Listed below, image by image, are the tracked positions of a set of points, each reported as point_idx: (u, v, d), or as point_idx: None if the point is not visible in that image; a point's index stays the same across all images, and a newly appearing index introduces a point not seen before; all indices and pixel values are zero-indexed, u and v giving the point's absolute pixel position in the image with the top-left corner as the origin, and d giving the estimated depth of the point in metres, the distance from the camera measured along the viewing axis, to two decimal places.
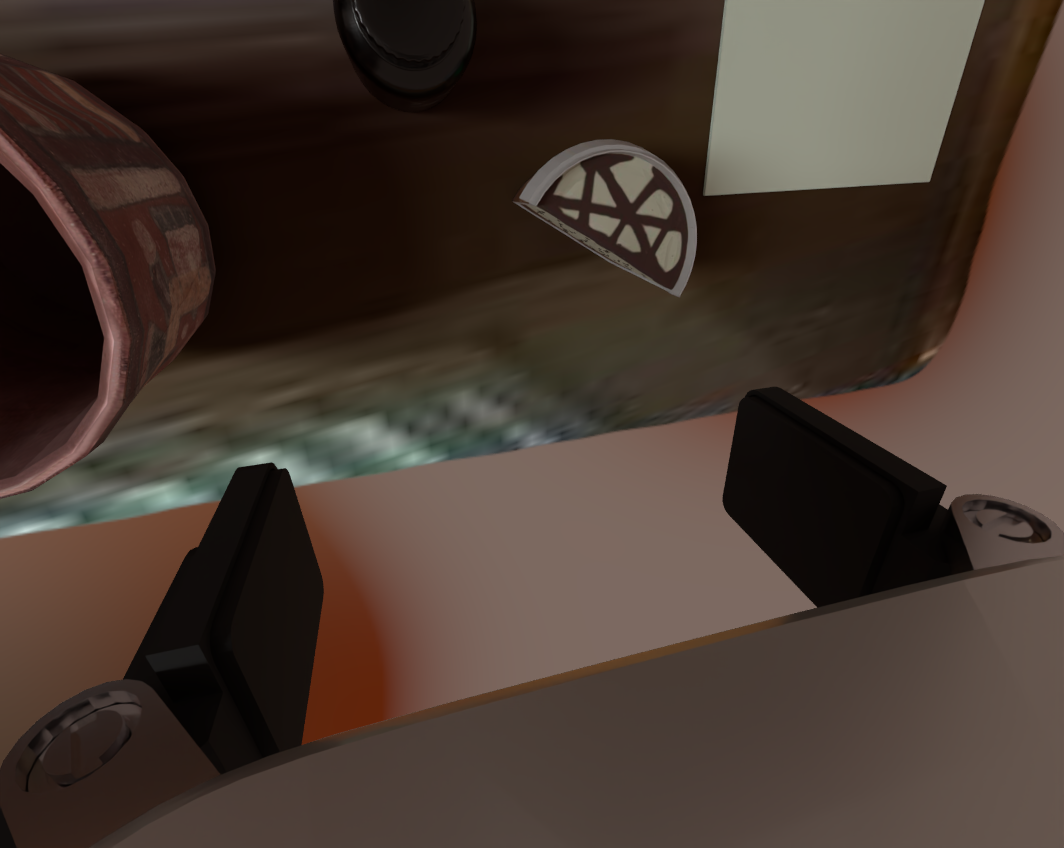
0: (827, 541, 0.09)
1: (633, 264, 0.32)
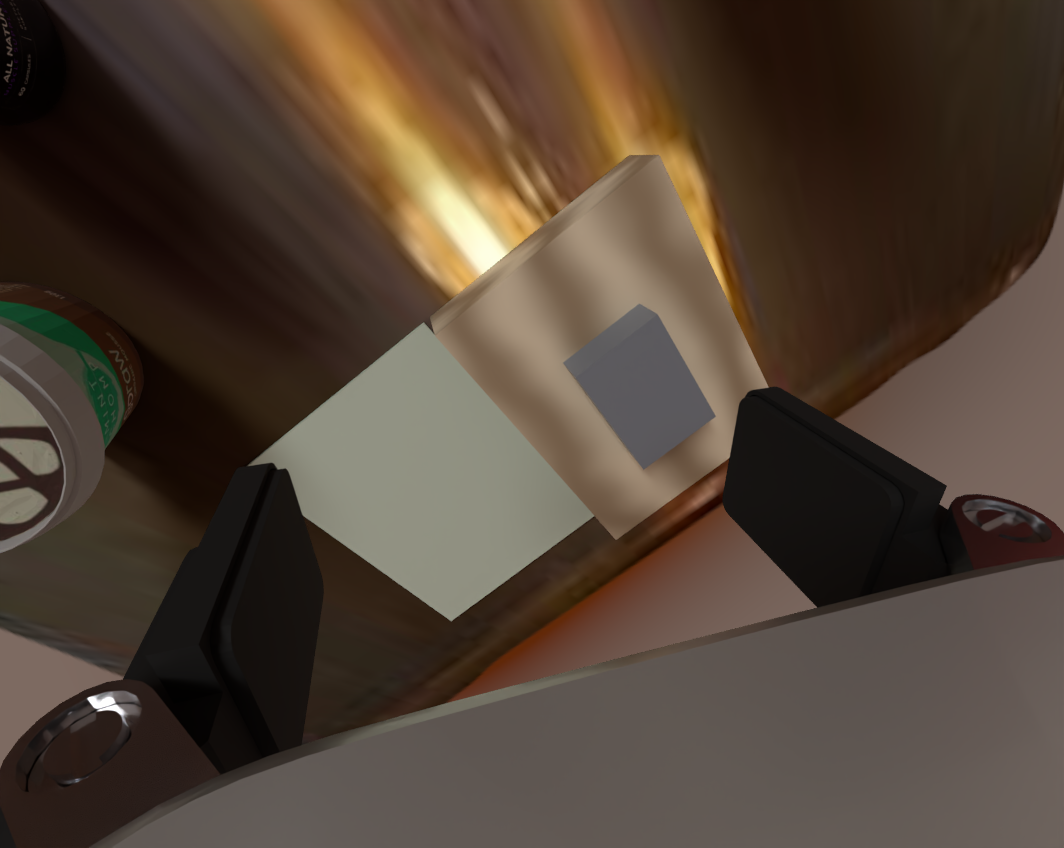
0: (827, 542, 0.09)
1: None
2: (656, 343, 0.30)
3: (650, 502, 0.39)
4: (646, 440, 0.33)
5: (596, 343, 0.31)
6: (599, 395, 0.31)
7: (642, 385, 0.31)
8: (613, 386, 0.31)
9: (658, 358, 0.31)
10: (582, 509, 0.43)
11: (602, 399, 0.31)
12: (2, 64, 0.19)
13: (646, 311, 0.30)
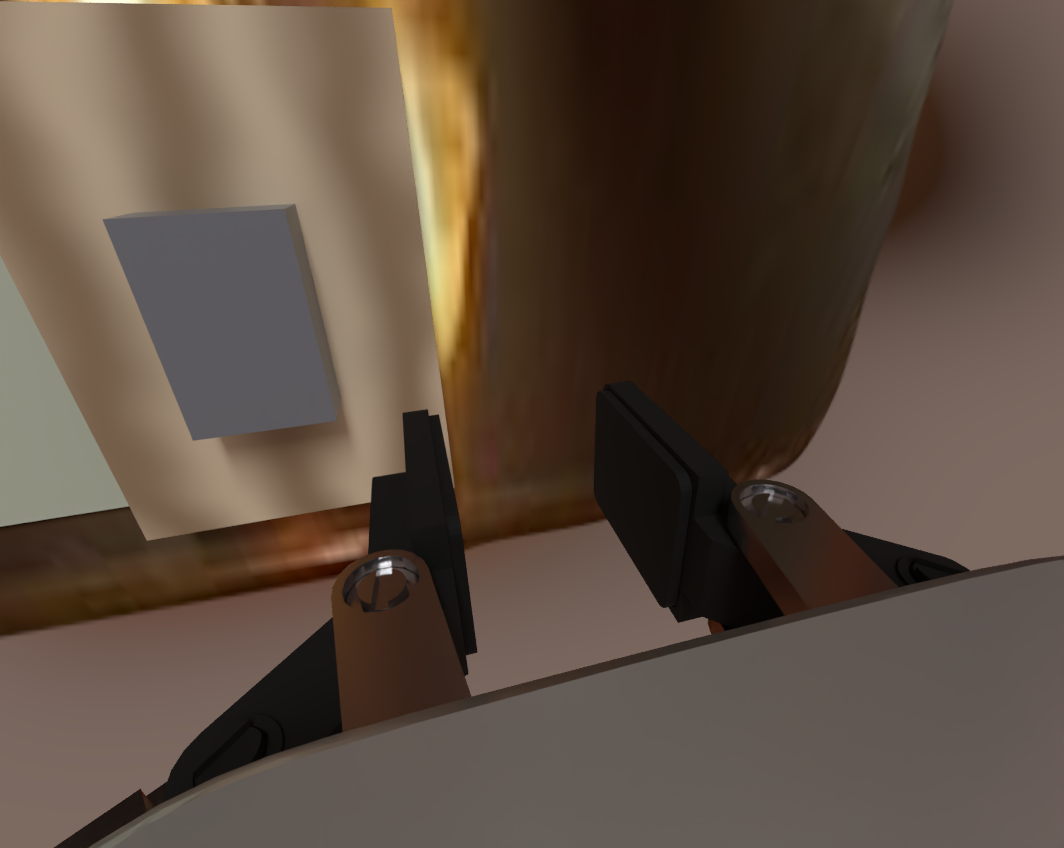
0: (650, 526, 0.09)
1: None
2: (270, 253, 0.19)
3: (224, 509, 0.27)
4: (211, 396, 0.21)
5: (192, 210, 0.20)
6: (142, 277, 0.19)
7: (226, 306, 0.20)
8: (172, 277, 0.19)
9: (266, 279, 0.20)
10: None
11: (146, 287, 0.19)
12: None
13: (282, 206, 0.20)
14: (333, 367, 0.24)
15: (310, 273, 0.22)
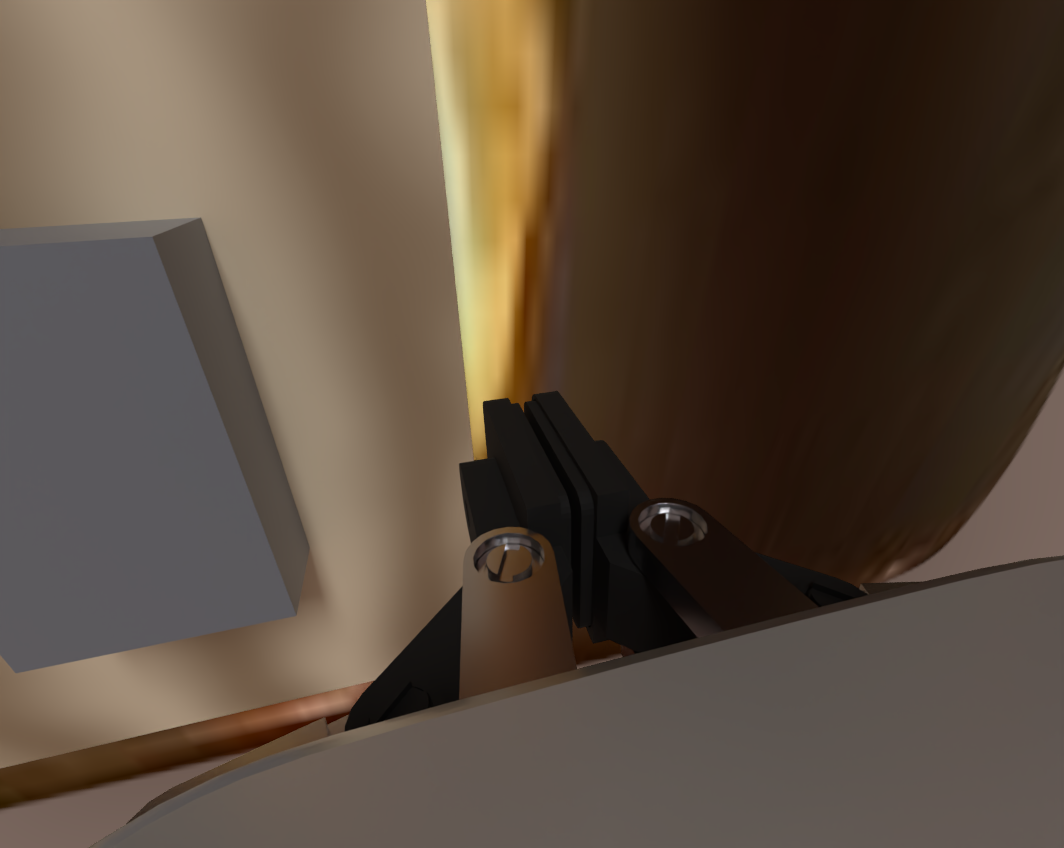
0: None
1: None
2: (130, 334, 0.09)
3: (118, 717, 0.16)
4: (39, 601, 0.11)
5: None
6: None
7: (44, 443, 0.09)
8: None
9: (127, 385, 0.09)
10: None
11: None
12: None
13: (161, 227, 0.09)
14: (293, 503, 0.14)
15: (240, 350, 0.11)
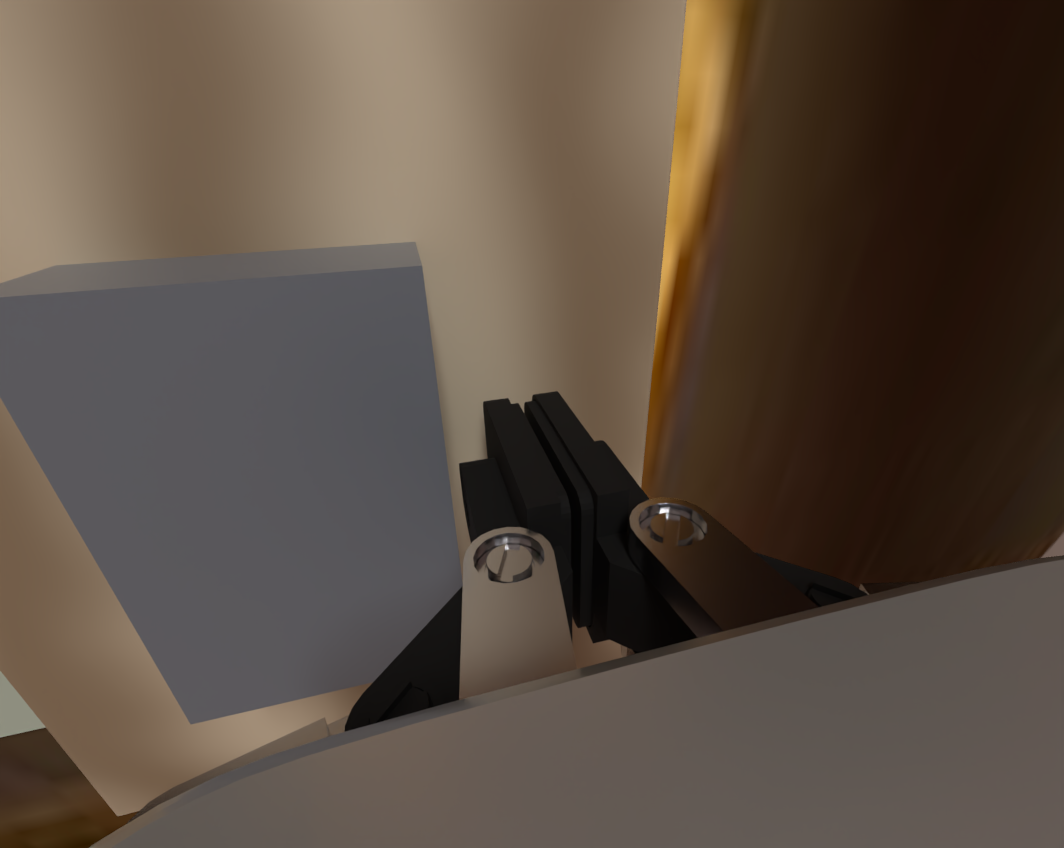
0: None
1: None
2: (379, 367, 0.08)
3: None
4: (229, 649, 0.10)
5: (193, 262, 0.08)
6: (66, 435, 0.07)
7: (271, 483, 0.09)
8: (142, 431, 0.08)
9: (364, 422, 0.09)
10: None
11: (77, 455, 0.08)
12: None
13: (404, 255, 0.09)
14: None
15: None
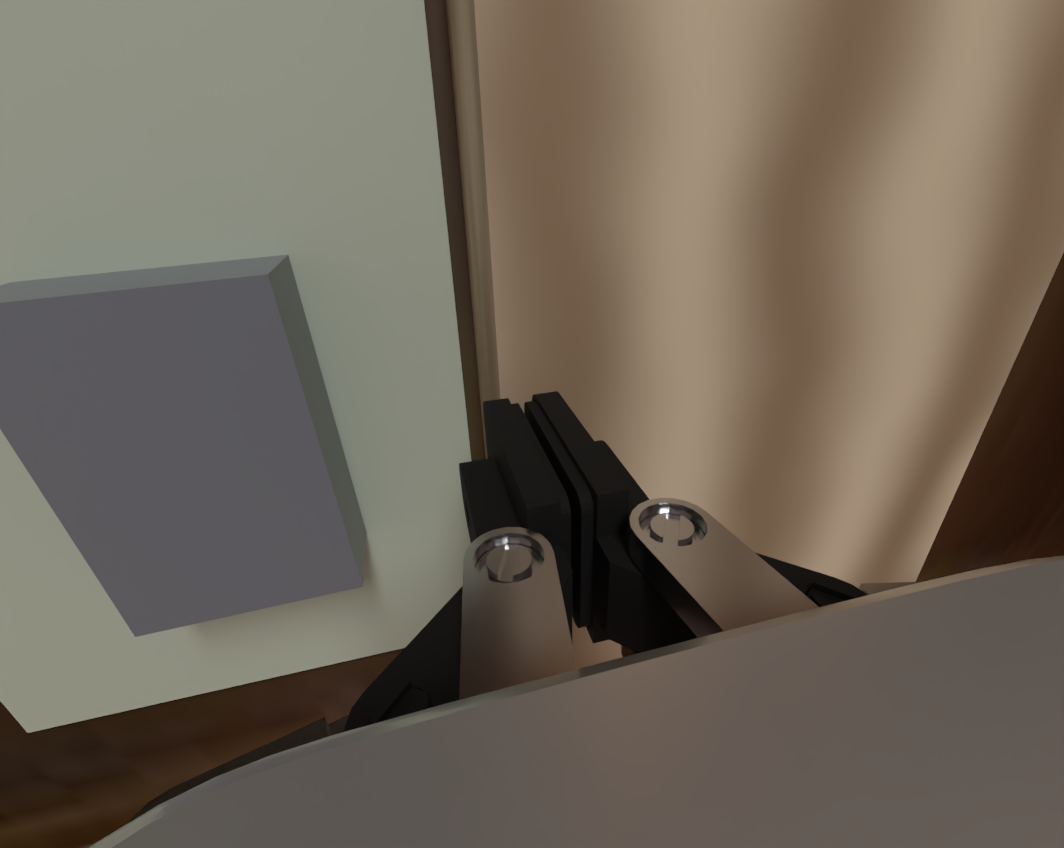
0: None
1: None
2: None
3: None
4: None
5: (156, 279, 0.11)
6: None
7: None
8: None
9: None
10: None
11: None
12: None
13: None
14: None
15: None
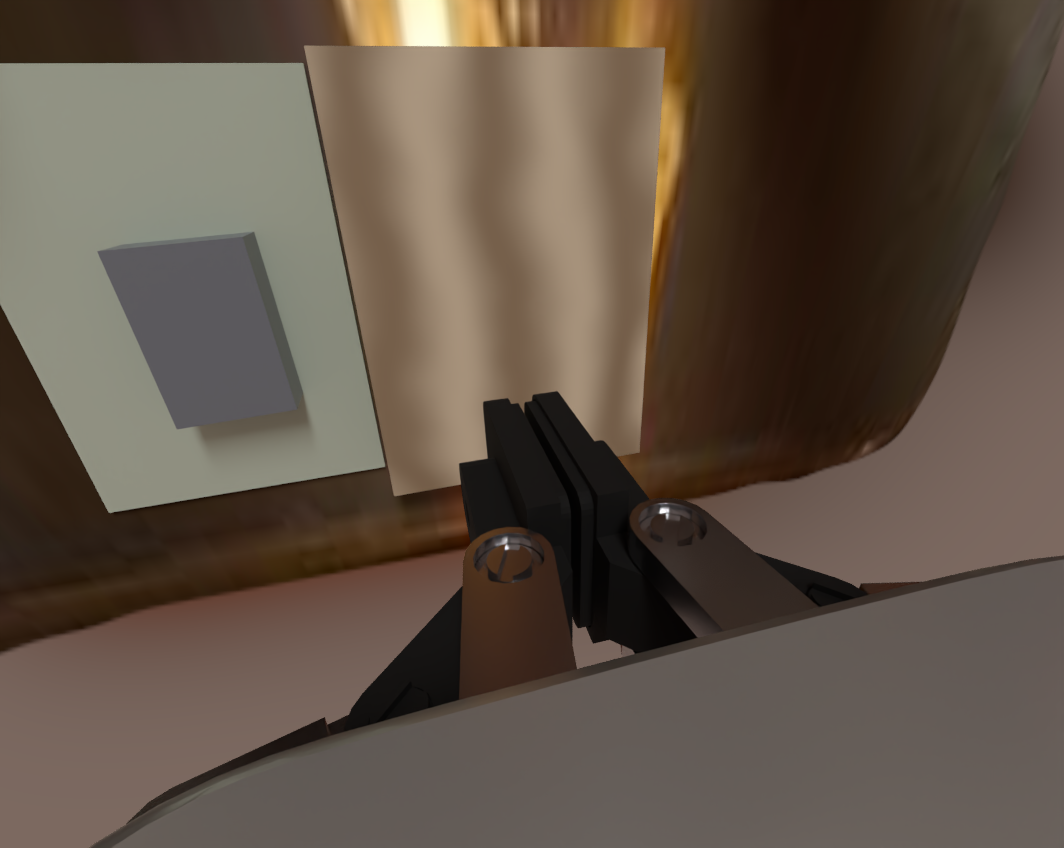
0: None
1: None
2: None
3: (458, 469, 0.31)
4: None
5: (192, 240, 0.24)
6: None
7: None
8: None
9: None
10: (374, 449, 0.33)
11: None
12: None
13: (117, 246, 0.24)
14: (164, 398, 0.26)
15: None
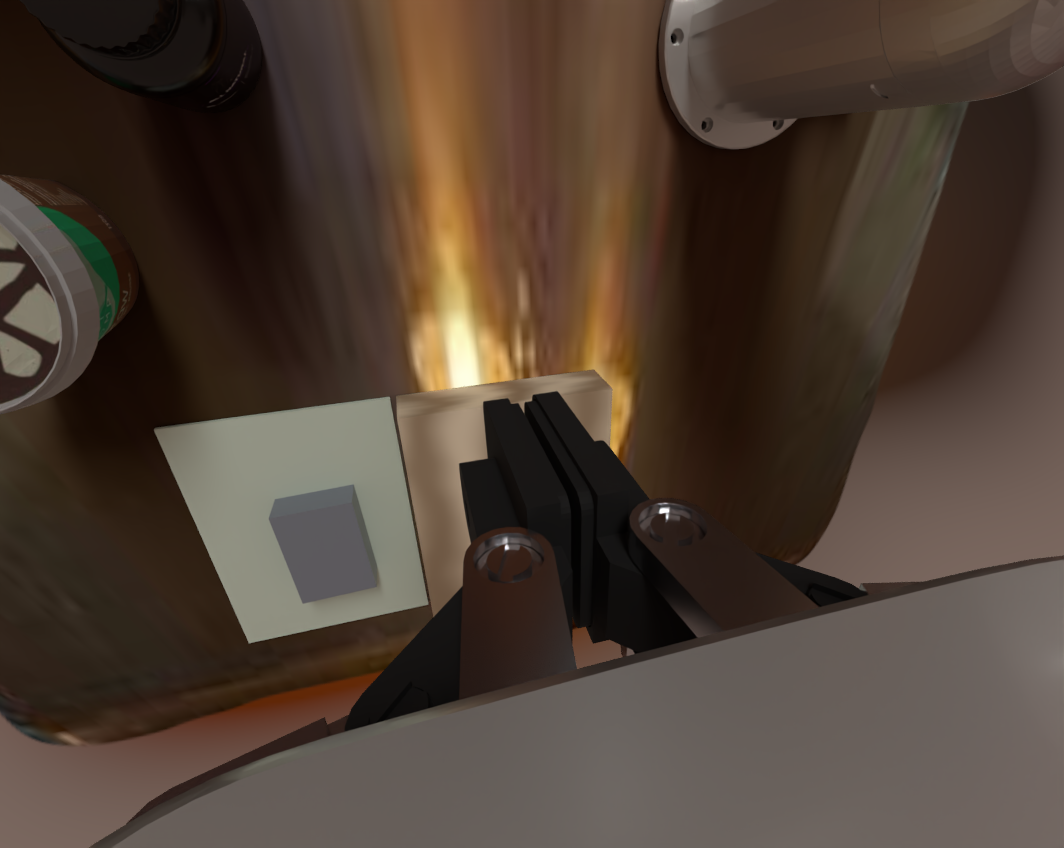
0: None
1: None
2: None
3: None
4: None
5: (320, 502, 0.39)
6: None
7: None
8: None
9: None
10: (421, 595, 0.48)
11: None
12: (218, 95, 0.24)
13: (275, 506, 0.39)
14: (296, 587, 0.41)
15: None
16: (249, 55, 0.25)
